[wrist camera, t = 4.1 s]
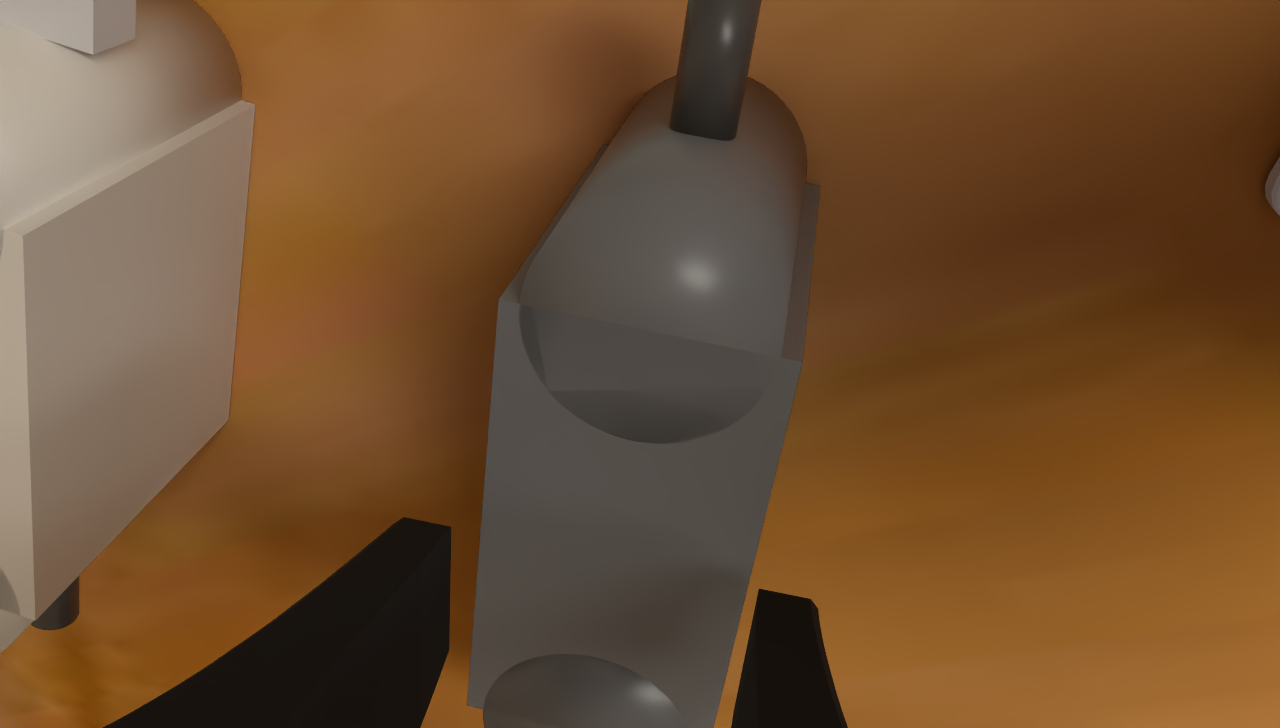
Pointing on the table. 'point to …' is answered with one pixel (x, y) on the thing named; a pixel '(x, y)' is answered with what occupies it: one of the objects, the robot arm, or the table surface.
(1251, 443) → the table surface
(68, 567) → the white plug
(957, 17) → the table surface
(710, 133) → the charcoal plug
